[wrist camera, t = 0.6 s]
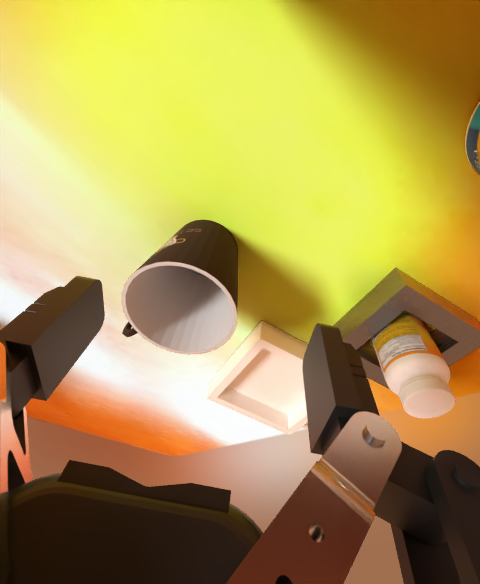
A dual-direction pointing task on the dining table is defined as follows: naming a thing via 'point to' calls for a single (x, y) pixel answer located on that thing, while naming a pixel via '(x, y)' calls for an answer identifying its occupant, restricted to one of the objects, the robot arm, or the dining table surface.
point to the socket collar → (418, 301)
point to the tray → (265, 379)
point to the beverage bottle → (473, 140)
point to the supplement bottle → (414, 367)
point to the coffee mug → (186, 291)
